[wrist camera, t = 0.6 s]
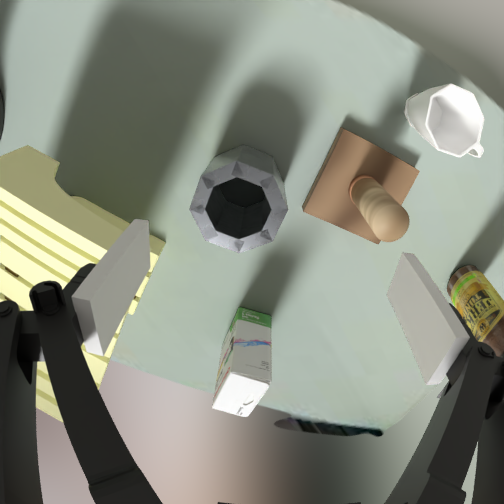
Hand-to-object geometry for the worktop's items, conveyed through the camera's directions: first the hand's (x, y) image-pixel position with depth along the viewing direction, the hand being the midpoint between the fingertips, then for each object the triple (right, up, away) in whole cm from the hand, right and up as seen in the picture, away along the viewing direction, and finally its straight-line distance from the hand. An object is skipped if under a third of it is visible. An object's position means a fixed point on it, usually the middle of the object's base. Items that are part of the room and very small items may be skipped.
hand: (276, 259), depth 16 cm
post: (+11, +8, +19) cm, 23 cm away
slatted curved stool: (-22, 0, +25) cm, 33 cm away
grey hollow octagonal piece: (-2, +8, +19) cm, 21 cm away
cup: (+19, +15, +14) cm, 28 cm away
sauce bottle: (+29, -4, +24) cm, 38 cm away
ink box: (-2, -11, +30) cm, 32 cm away
